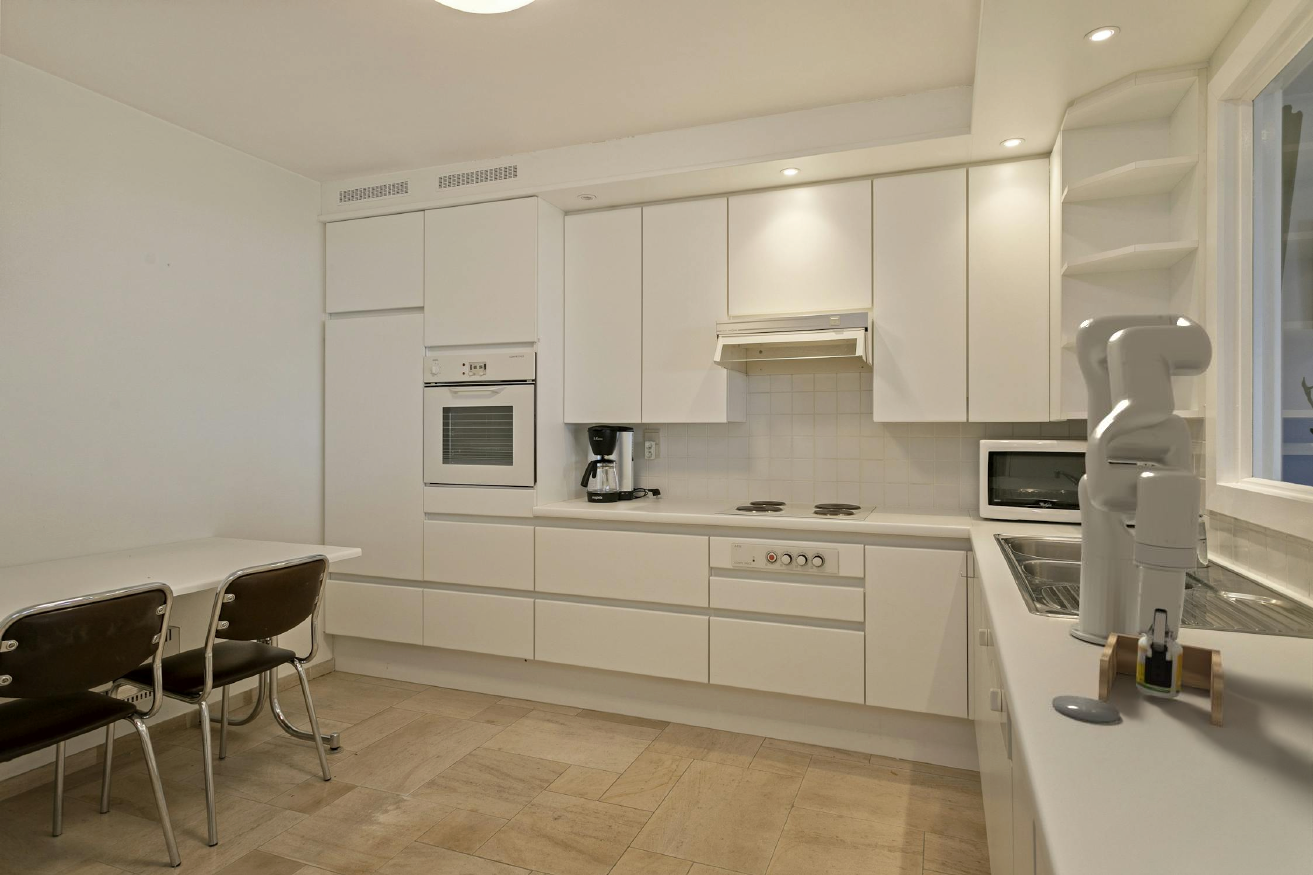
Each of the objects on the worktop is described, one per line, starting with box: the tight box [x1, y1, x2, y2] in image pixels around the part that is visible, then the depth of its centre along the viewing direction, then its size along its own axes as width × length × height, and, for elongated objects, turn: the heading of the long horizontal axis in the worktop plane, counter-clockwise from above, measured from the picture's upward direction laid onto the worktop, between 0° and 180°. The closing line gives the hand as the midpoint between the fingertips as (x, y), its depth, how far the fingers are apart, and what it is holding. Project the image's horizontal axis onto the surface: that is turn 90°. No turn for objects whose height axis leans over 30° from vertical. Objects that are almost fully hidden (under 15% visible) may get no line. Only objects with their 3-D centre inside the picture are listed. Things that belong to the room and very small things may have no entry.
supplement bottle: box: [1135, 630, 1183, 699], centre depth 105 cm, size 5×5×10 cm
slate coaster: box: [1051, 695, 1120, 724], centre depth 100 cm, size 8×8×1 cm
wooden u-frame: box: [1097, 632, 1224, 727], centre depth 106 cm, size 17×14×6 cm
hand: (1158, 677), depth 105 cm, fingers closed on supplement bottle, 5 cm apart
